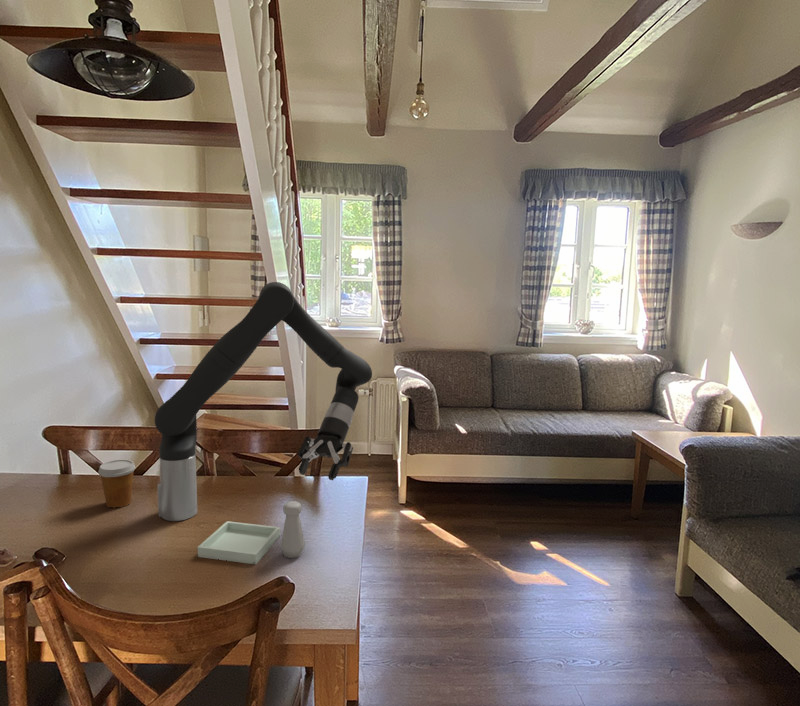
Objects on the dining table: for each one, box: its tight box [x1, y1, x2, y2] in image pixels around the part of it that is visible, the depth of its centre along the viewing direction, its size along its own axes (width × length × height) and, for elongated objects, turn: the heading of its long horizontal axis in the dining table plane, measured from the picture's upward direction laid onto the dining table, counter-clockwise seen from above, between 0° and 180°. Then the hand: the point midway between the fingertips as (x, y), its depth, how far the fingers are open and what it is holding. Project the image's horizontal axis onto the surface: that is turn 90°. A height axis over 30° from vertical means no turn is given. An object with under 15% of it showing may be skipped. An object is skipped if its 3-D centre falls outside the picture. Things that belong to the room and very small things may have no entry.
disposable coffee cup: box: [97, 459, 136, 509], centre depth 154 cm, size 10×10×12 cm
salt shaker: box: [280, 500, 306, 559], centre depth 129 cm, size 6×6×13 cm
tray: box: [197, 520, 281, 565], centre depth 133 cm, size 15×14×2 cm
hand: (315, 476), depth 138 cm, fingers open, 8 cm apart
